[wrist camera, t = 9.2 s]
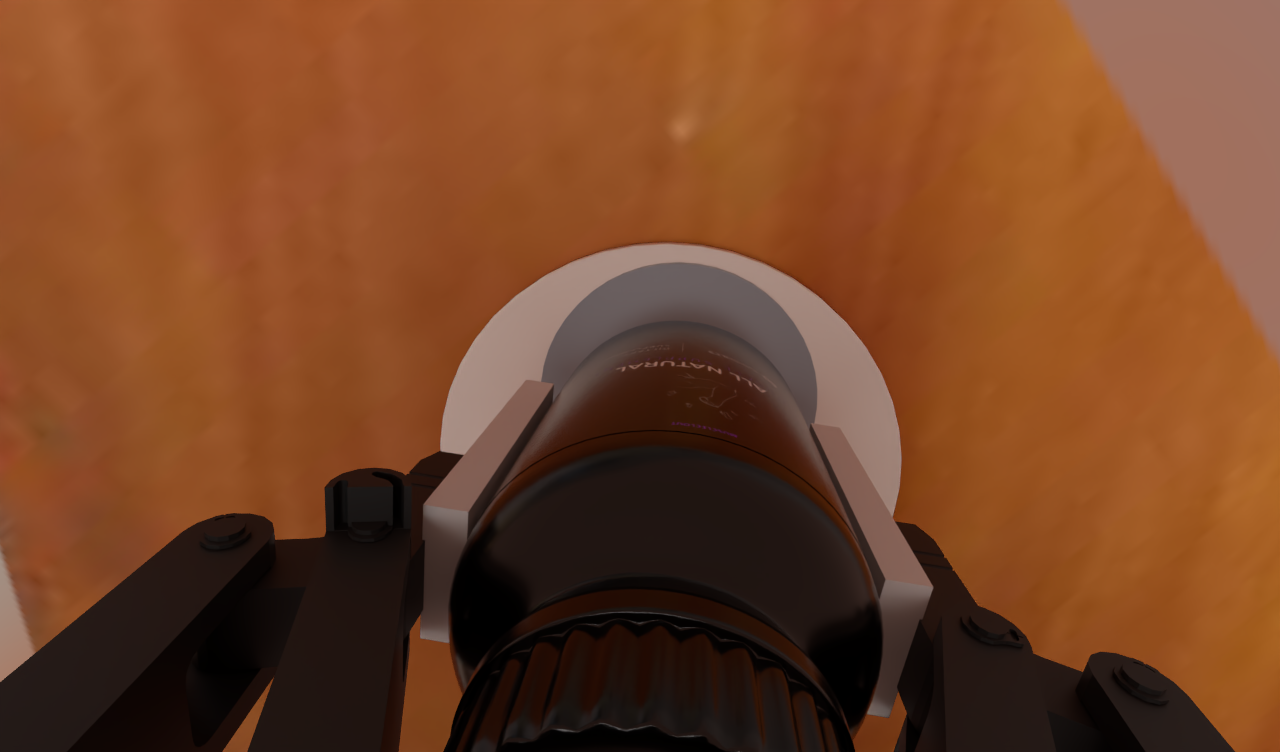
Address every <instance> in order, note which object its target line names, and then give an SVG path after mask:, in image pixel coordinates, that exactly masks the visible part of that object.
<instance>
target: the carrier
mask: <svg viewBox="0 0 1280 752" xmlns="http://www.w3.org/2000/svg"><path fill="white" fill-rule="evenodd" d="M660 321H690V322H698V323H703V324H707V325H711V326H714V327H717V328H720V329H723V330H726V331H728V332H730V333H732V334H735V335H736V336H738V337H740V338H742V339H744V340H745V341H747V342H748V343H750V344H751V345H752V346H754V347H755V348H757V349H758V350H759V351H760V352H761V353H762V354H764V355H765V356H766V357H767V358H768V359H769V361H770V362H771V363H772V364H773V365H774V366H775V367H776V369H777V370H778V371H779V373H780V374H781V375H782V376H783V378H784V380H785V381H786V383H787V385H788V386H789V388H790V390H791V392H792V394H793V396H794V398H795V400H796V402H797V404H798V406H799V408H800V410H801V413H802V415H803V417H804V419H805V422H806V424H807V426H808V428H809V429H810V424H811V423H813V424H820V425H826V426H833V427H840V429H841V430H842V432H843V434H844V436H845V437H846V439H847V441H848V442H849V444H850V446H851V447H852V449H853V451H854V453H855V454H856V456H857V458H858V459H859V461H860V463H861V465H862V466H863V468H864V470H865V471H866V473H867V475H868V476H869V478H870V480H871V482H872V483H873V485H874V487H875V488H876V490H877V492H878V494H879V495H880V497H881V499H882V500H883V502H884V504H885V505H886V507H887V509H888V511H889V512H890V514H891V516H892V517H893V514H894V510H895V506H896V501H897V497H898V492H899V487H900V474H901V460H902V458H901V445H900V433H899V427H898V423H897V418H896V414H895V410H894V405H893V401H892V399H891V396H890V394H889V391H888V389H887V386H886V384H885V381H884V379H883V376H882V374H881V372H880V370H879V369H878V367H877V365H876V363H875V362H874V360H873V358H872V357H871V355H870V353H869V351H868V350H867V348H866V347H865V345H864V344H863V343H862V342H861V340H860V339H859V338H858V336H857V335H856V334H855V333H854V331H853V330H852V329H851V328H850V326H849V325H848V324H847V323H846V322H845V321H844V320H843V319H842V318H841V317H840V316H839V315H838V314H837V313H836V312H835V311H834V310H833V309H832V308H830V307H829V306H828V305H827V304H826V303H825V302H824V301H823V300H822V299H821V298H820V297H819V296H818V295H816V294H815V293H814V292H812V291H811V290H809V289H808V288H807V287H805V286H804V285H802V284H801V283H800V282H798V281H797V280H795V279H794V278H792V277H791V276H789V275H787V274H785V273H783V272H781V271H780V270H778V269H776V268H774V267H772V266H770V265H768V264H766V263H764V262H762V261H759V260H756V259H754V258H751V257H748V256H745V255H742V254H740V253H737V252H734V251H730V250H726V249H721V248H716V247H711V246H707V245H702V244H691V243H678V242H656V243H639V244H632V245H627V246H622V247H616V248H611V249H606V250H603V251H600V252H597V253H594V254H591V255H588V256H585V257H582V258H579V259H576V260H574V261H572V262H570V263H568V264H566V265H564V266H562V267H560V268H558V269H556V270H554V271H552V272H550V273H548V274H547V275H545V276H544V277H542V278H541V279H539V280H538V281H536V282H535V283H533V284H532V285H531V286H529V287H528V288H526V289H525V290H523V291H522V292H520V293H519V294H517V295H516V296H515V297H514V298H513V299H512V300H511V301H510V302H508V303H507V304H506V305H505V306H504V307H503V308H502V309H501V310H500V311H499V312H498V313H496V314H495V315H494V316H493V318H492V319H491V320H490V321H489V322H488V324H487V325H486V326H485V327H484V329H483V330H482V331H481V332H480V334H479V335H478V336H477V337H476V338H475V340H474V342H473V343H472V345H471V347H470V348H469V350H468V352H467V353H466V355H465V357H464V358H463V360H462V362H461V364H460V366H459V368H458V371H457V373H456V376H455V378H454V380H453V383H452V385H451V388H450V391H449V395H448V399H447V403H446V406H445V410H444V414H443V422H442V432H441V441H440V447H441V451H442V452H448V453H455V454H461V455H464V454H465V453H466V452H467V451H468V450H469V448H470V447H471V446H472V445H473V444H474V442H475V441H476V440H477V439H478V437H479V436H480V435H481V434H482V433H483V431H484V430H485V429H486V428H487V427H488V425H489V424H490V423H491V422H492V420H493V419H494V418H495V417H496V416H497V414H498V413H499V412H500V411H501V410H502V408H503V407H504V406H505V405H506V404H507V402H508V401H509V400H510V399H511V397H512V396H513V395H514V394H515V393H516V391H517V390H518V389H519V388H520V387H521V385H522V384H523V383H524V382H525V380H533V381H539V382H546V383H552V384H554V392H553V401H554V400H555V398H556V397H557V395H558V394H559V392H560V391H561V389H562V388H563V386H564V385H565V383H566V382H567V380H568V379H569V378H570V376H571V375H572V373H573V372H574V370H575V369H576V368H577V367H578V366H579V364H580V363H581V362H582V361H583V360H584V359H585V358H586V357H587V356H588V355H589V354H590V353H591V352H592V351H593V350H594V349H596V348H597V347H598V346H600V345H601V344H602V343H604V342H605V341H607V340H608V339H610V338H612V337H613V336H615V335H617V334H619V333H621V332H623V331H626V330H628V329H631V328H634V327H637V326H640V325H644V324H648V323H654V322H660Z"/></svg>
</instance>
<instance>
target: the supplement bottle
mask: <svg viewBox="0 0 1280 752" xmlns="http://www.w3.org/2000/svg"><path fill="white" fill-rule="evenodd" d="M448 634H449V643H450V652H451V657H452V661H453V666H454V670H455V675H456V678H457V681H458V684H459V686H460V689H461V692H462V695H463V696H462V698H461V700H460V703H459V705H458V708H457V710H456V713H455V717H454V720H453V724H452V729H451V735H450V738H449V740H448V742H447V745H446V747H445V749H444V751H443V752H855V749H854V745H853V739H854V737H855V736H856V734H857V732H858V731H859V729H860V727H861V725H862V724H863V722H864V719H865V717H866V715H867V712H868V710H869V708H870V705H871V703H872V701H873V697H874V694H875V690H876V687H877V683H878V680H879V676H880V669H881V663H882V657H883V638H884V635H883V622H882V611H881V607H880V602H879V597H878V593H877V590H876V587H875V583H874V581H873V578H872V575H871V572H870V569H869V566H868V563H867V560H866V557H865V555H864V553H863V550H862V548H861V546H860V543H859V541H858V539H857V537H856V534H855V532H854V530H853V527H852V525H851V523H850V521H849V518H848V516H847V514H846V512H845V509H844V507H843V505H842V503H841V500H840V498H839V496H838V494H837V491H836V489H835V487H834V485H833V482H832V480H831V478H830V476H829V473H828V471H827V469H826V467H825V464H824V462H823V460H822V458H821V455H820V453H819V451H818V449H817V446H816V444H815V442H814V440H813V437H812V435H811V433H810V431H809V428H808V426H807V424H806V422H805V419H804V417H803V415H802V413H801V410H800V408H799V406H798V404H797V402H796V400H795V398H794V396H793V394H792V392H791V390H790V388H789V386H788V385H787V383H786V381H785V380H784V378H783V376H782V375H781V374H780V373H779V371H778V370H777V369H776V367H775V366H774V365H773V364H772V363H771V362H770V361H769V359H768V358H767V357H766V356H765V355H764V354H762V353H761V352H760V351H759V350H758V349H757V348H755V347H754V346H752V345H751V344H750V343H748V342H747V341H745V340H744V339H742V338H740V337H738V336H736V335H735V334H732V333H730V332H728V331H726V330H723V329H720V328H717V327H714V326H711V325H707V324H703V323H698V322H690V321H660V322H654V323H648V324H644V325H640V326H637V327H634V328H631V329H628V330H626V331H623V332H621V333H619V334H617V335H615V336H613V337H612V338H610V339H608V340H607V341H605V342H604V343H602V344H601V345H600V346H598V347H597V348H596V349H594V350H593V351H592V352H591V353H590V354H589V355H588V356H587V357H586V358H585V359H584V360H583V361H582V362H581V363H580V364H579V366H578V367H577V368H576V369H575V370H574V372H573V373H572V375H571V376H570V378H569V379H568V380H567V382H566V383H565V385H564V386H563V388H562V389H561V391H560V392H559V394H558V395H557V397H556V398H555V400H554V401H553V403H552V405H551V406H550V408H549V409H548V411H547V412H546V414H545V416H544V417H543V419H542V420H541V422H540V423H539V425H538V426H537V428H536V430H535V431H534V433H533V434H532V436H531V437H530V439H529V441H528V442H527V444H526V445H525V447H524V448H523V450H522V451H521V453H520V455H519V456H518V458H517V459H516V461H515V462H514V464H513V466H512V467H511V469H510V470H509V472H508V473H507V475H506V476H505V478H504V480H503V481H502V483H501V484H500V486H499V487H498V489H497V491H496V492H495V494H494V495H493V497H492V498H491V500H490V501H489V503H488V505H487V506H486V508H485V509H484V511H483V512H482V514H481V516H480V517H479V519H478V521H477V523H476V525H475V527H474V529H473V530H472V532H471V534H470V536H469V538H468V540H467V542H466V544H465V546H464V548H463V550H462V552H461V555H460V558H459V560H458V563H457V565H456V568H455V572H454V576H453V580H452V584H451V589H450V596H449V604H448Z"/></svg>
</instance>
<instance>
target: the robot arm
mask: <svg viewBox="0 0 1280 752" xmlns="http://www.w3.org/2000/svg"><path fill="white" fill-rule="evenodd" d="M553 392H554V384H552V383H546V382H539V381H533V380H525V382H524V383H523V384H522V385H521V387H520V388H519V389H518V390H517V391H516V393H515V394H514V395H513V396H512V397H511V399H510V400H509V401H508V402H507V404H506V405H505V406H504V407H503V408H502V410H501V411H500V412H499V413H498V414H497V416H496V417H495V418H494V419H493V420H492V422H491V423H490V424H489V425H488V427H487V428H486V429H485V430H484V431H483V433H482V434H481V435H480V436H479V437H478V439H477V440H476V441H475V442H474V444H473V445H472V446H471V447H470V448H469V450H468V451H467V452H466V453H465V454H464V455H461V454H455V453H448V452H442V451H439V452H437V453H435V454H433V455H431V456H428V457H426V458H424V459H422V460H420V461H419V463H418V464H417V465H416V466H415V467H414V468H413V469H412V470H411V471H410V473H409V474H407V475H406V476H405V475H404V474H403V473H401V472H398V471H394V470H391V469H383V468H366V469H357V470H354V471H350V472H346V473H343V474H341V475H339V476H337V477H335V478H334V479H332V480H331V481H330V482H329V483H328V484H327V485H326V487H325V510H326V534H325V536H324V537H320V538H310V539H286V540H275V535H274V528H273V523H272V522H271V521H269V520H268V519H266V518H265V517H263V516H258V515H254V514H237V513H232V514H226V515H219V516H215V517H213V518H210V519H207V520H204V521H202V522H199V523H196V524H195V525H193V526H191V527H190V528H188V529H186V530H185V531H183V532H182V533H181V534H179V535H178V536H177V537H176V538H175V539H173V540H172V541H171V542H170V543H168V544H167V545H166V546H165V547H164V548H162V549H161V550H160V551H159V552H158V553H156V554H155V555H154V556H153V557H152V558H150V559H149V560H148V561H147V562H145V563H144V564H143V565H142V566H141V567H139V568H138V569H137V570H136V571H135V572H133V573H132V574H131V575H130V576H128V577H127V578H126V579H125V580H124V581H122V582H121V583H120V584H119V585H118V586H116V587H115V588H114V589H113V590H111V591H110V592H109V593H108V594H107V595H105V596H104V597H103V598H102V599H101V600H99V601H98V602H97V603H96V604H95V605H93V606H92V607H91V608H90V609H88V610H87V611H86V612H85V613H84V614H82V615H81V616H80V617H79V618H78V619H76V620H75V621H74V622H73V623H71V624H70V625H69V626H68V627H67V628H65V629H64V630H63V631H62V632H61V633H59V634H58V635H57V636H56V637H55V638H53V639H52V640H51V641H50V642H48V643H47V644H46V645H45V646H44V647H42V648H41V649H40V650H39V651H38V652H36V653H35V654H34V655H33V656H31V657H30V658H29V659H28V660H27V661H25V662H24V663H23V664H22V665H21V666H19V667H18V668H17V669H16V670H15V671H13V672H12V673H11V674H10V675H8V676H7V677H6V678H5V679H4V680H2V682H0V752H222V751H223V750H224V748H225V747H226V745H227V744H228V742H229V741H230V740H231V738H232V737H233V735H234V734H235V732H236V731H237V729H238V728H239V726H240V725H241V724H242V722H243V721H244V719H245V718H246V716H247V715H248V713H249V712H250V710H251V709H252V708H253V706H254V705H255V703H256V702H257V700H258V699H259V697H260V696H261V694H262V693H263V692H264V690H265V689H266V687H267V686H268V684H269V683H270V681H271V680H272V679H273V677H274V679H273V682H272V684H271V687H270V690H269V693H268V696H267V698H266V701H265V704H264V707H263V710H262V712H261V715H260V718H259V721H258V724H257V726H256V729H255V732H254V735H253V738H252V740H251V743H250V746H249V749H248V752H398V751H399V742H400V733H401V724H402V714H403V705H404V696H405V687H406V678H407V668H408V659H409V643H410V630H411V628H412V627H413V625H414V623H415V622H416V620H417V619H418V617H419V615H420V614H421V628H420V638H422V639H428V640H434V641H440V642H446V643H449V634H448V604H449V596H450V589H451V584H452V580H453V576H454V572H455V568H456V565H457V563H458V560H459V558H460V555H461V552H462V550H463V548H464V546H465V544H466V542H467V540H468V538H469V536H470V534H471V532H472V530H473V529H474V527H475V525H476V523H477V521H478V519H479V517H480V516H481V514H482V512H483V511H484V509H485V508H486V506H487V505H488V503H489V501H490V500H491V498H492V497H493V495H494V494H495V492H496V491H497V489H498V487H499V486H500V484H501V483H502V481H503V480H504V478H505V476H506V475H507V473H508V472H509V470H510V469H511V467H512V466H513V464H514V462H515V461H516V459H517V458H518V456H519V455H520V453H521V451H522V450H523V448H524V447H525V445H526V444H527V442H528V441H529V439H530V437H531V436H532V434H533V433H534V431H535V430H536V428H537V426H538V425H539V423H540V422H541V420H542V419H543V417H544V416H545V414H546V412H547V411H548V409H549V408H550V406H551V405H552V403H553ZM809 431H810V433H811V435H812V437H813V440H814V442H815V444H816V446H817V449H818V451H819V453H820V455H821V458H822V460H823V462H824V464H825V467H826V469H827V471H828V473H829V476H830V478H831V480H832V482H833V485H834V487H835V489H836V491H837V494H838V496H839V498H840V500H841V503H842V505H843V507H844V509H845V512H846V514H847V516H848V518H849V521H850V523H851V525H852V527H853V530H854V532H855V534H856V537H857V539H858V541H859V543H860V546H861V548H862V550H863V553H864V555H865V557H866V560H867V563H868V566H869V569H870V572H871V575H872V578H873V581H874V583H875V587H876V590H877V593H878V597H879V602H880V607H881V611H882V622H883V635H884V638H883V657H882V663H881V669H880V676H879V680H878V683H877V687H876V690H875V694H874V697H873V701H872V703H871V705H870V708H869V710H868V712H867V714H869V715H875V716H881V717H887V718H889V716H890V713H891V710H892V708H893V705H894V702H895V699H896V696H897V693H898V691H899V694H900V696H901V699H902V701H903V704H904V706H905V709H906V711H907V715H906V718H905V721H904V724H903V727H902V730H901V732H900V735H899V738H898V741H897V744H896V747H895V749H894V752H1235V751H1234V750H1233V749H1232V748H1231V746H1230V745H1229V744H1228V743H1227V742H1226V740H1225V739H1224V738H1223V737H1222V736H1221V734H1220V733H1219V732H1218V731H1217V730H1216V728H1215V727H1214V726H1213V725H1212V724H1211V723H1210V721H1209V720H1208V719H1207V718H1206V717H1205V715H1204V714H1203V713H1202V712H1201V711H1200V709H1199V708H1198V707H1197V706H1196V705H1195V703H1194V702H1193V701H1192V700H1191V699H1190V697H1189V696H1188V695H1187V694H1186V693H1185V692H1184V691H1183V690H1181V689H1180V688H1179V687H1178V686H1177V685H1176V684H1175V683H1174V682H1173V681H1171V680H1170V679H1168V678H1167V677H1165V676H1164V675H1162V674H1161V673H1160V672H1159V671H1158V670H1156V669H1155V668H1153V667H1151V666H1149V665H1147V664H1146V665H1145V664H1143V662H1141V661H1139V660H1136V659H1134V658H1129V657H1126V656H1123V655H1120V654H1116V653H1108V652H1099V653H1095V654H1092V655H1091V656H1090V658H1089V660H1088V662H1087V665H1086V667H1085V669H1084V671H1083V672H1081V671H1078V670H1076V669H1073V668H1070V667H1067V666H1065V665H1062V664H1059V663H1056V662H1053V661H1051V660H1048V659H1045V658H1043V657H1040V656H1038V655H1035V654H1033V651H1032V647H1031V645H1030V643H1029V641H1028V639H1027V637H1026V636H1025V635H1024V634H1023V633H1022V632H1021V631H1020V630H1019V629H1018V628H1017V627H1016V626H1015V625H1014V624H1012V623H1011V622H1009V621H1008V620H1006V619H1005V618H1003V617H1002V616H1000V615H999V614H996V613H994V612H992V611H990V610H987V609H985V608H983V607H979V606H978V605H977V604H976V602H975V601H974V599H973V598H972V596H971V595H970V593H969V592H968V590H967V589H966V587H965V586H964V584H963V583H962V581H961V580H960V578H959V577H958V575H957V574H956V572H955V571H952V569H953V568H952V566H951V565H950V563H949V562H948V560H947V559H946V558H944V554H943V553H942V551H941V550H940V548H939V547H938V545H937V544H936V542H935V541H934V539H932V538H931V537H930V536H929V535H927V534H926V533H925V532H924V531H922V530H921V529H920V528H919V527H918V526H916V525H914V524H908V523H901V522H895V521H894V519H893V517H892V516H891V514H890V512H889V511H888V509H887V507H886V505H885V504H884V502H883V500H882V499H881V497H880V495H879V494H878V492H877V490H876V488H875V487H874V485H873V483H872V482H871V480H870V478H869V476H868V475H867V473H866V471H865V470H864V468H863V466H862V465H861V463H860V461H859V459H858V458H857V456H856V454H855V453H854V451H853V449H852V447H851V446H850V444H849V442H848V441H847V439H846V437H845V436H844V434H843V432H842V430H841V429H840V427H833V426H826V425H820V424H813V423H811V424H810V429H809Z"/></svg>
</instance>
